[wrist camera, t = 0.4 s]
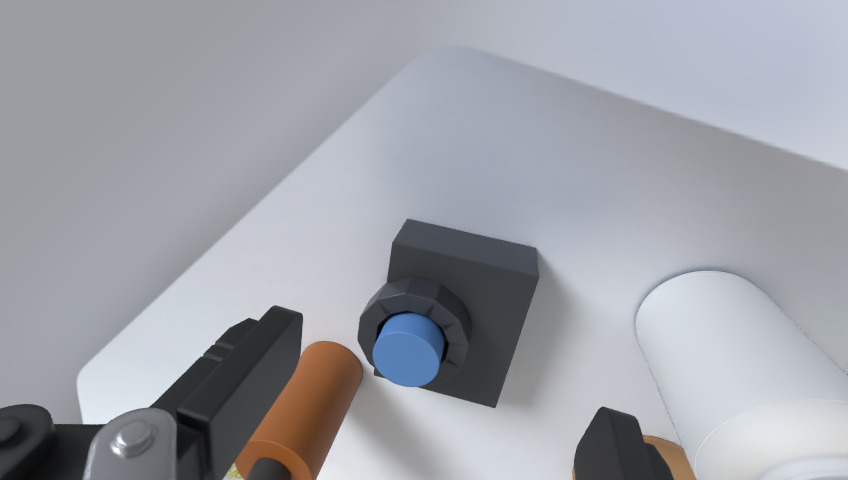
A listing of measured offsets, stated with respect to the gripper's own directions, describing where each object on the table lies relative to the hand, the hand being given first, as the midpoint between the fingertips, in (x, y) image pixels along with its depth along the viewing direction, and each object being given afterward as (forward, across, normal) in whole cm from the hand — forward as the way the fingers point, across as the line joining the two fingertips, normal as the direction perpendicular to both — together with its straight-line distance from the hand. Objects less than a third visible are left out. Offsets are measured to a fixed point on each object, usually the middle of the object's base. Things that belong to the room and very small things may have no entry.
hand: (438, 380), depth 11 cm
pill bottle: (+18, -16, +6) cm, 25 cm away
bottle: (+17, +8, +20) cm, 27 cm away
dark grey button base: (+17, 0, +9) cm, 20 cm away
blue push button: (+12, +2, +9) cm, 15 cm away
